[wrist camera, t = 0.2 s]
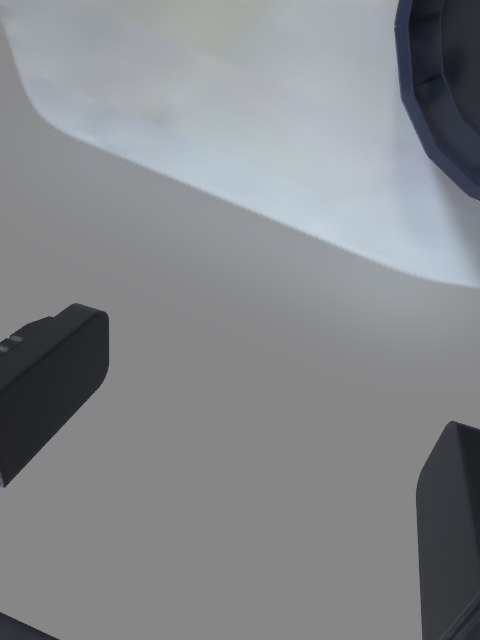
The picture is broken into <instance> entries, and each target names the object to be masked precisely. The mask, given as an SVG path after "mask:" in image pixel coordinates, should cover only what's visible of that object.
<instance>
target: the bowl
mask: <svg viewBox="0 0 480 640" xmlns="http://www.w3.org/2000/svg"><path fill="white" fill-rule="evenodd" d="M394 25H395V27H394V31H395V42H396V52H397V63H398V73H399V84H400V94H401V98H402V102H403V105H404V107H405V109H406V111H407V113H408V116H409V118H410V120H411V122H412V124H413V126H414V129H415V131H416V133H417V135H418V137H419V140H420V142H421V144H422V146H423V148H424V151H425V153H426V154H427V156H428V157H429V158H430V159H431V160H432V161H433V162H434V163H435V164H436V165H437V166H438V167H439V168H440V169H441V170H442V171H443V172H444V173H445V174H446V175H447V176H448V177H449V178H450V179H451V180H452V181H453V182H454V183H455V184H456V185H457V186H458V187H459V188H460V189H461V190H462V191H463V192H464V193H465V194H467V195H468V196H470V197H472V198H474V199H476V200H478V201H480V0H399V2H398V8H397V13H396V18H395V24H394Z"/></svg>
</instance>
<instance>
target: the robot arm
mask: <svg viewBox="0 0 480 640" xmlns="http://www.w3.org/2000/svg"><path fill="white" fill-rule="evenodd" d="M108 367H109V318H108V315H107V313H106V312H104V311H101V310H97V309H94V308H91V307H88V306H84V305H81V304H78V303H75V304H72V305H70V306H69V307H67V308H66V309H65V310H63V311H62V312H60V313H59V314H58V315H56V316H55V317H50V316H49V317H46V318H43V319H40V320H37V321H34V322H32V323H29V324H27V325H25V326H24V327H22V328H21V329H19V330H18V331H16V332H15V333H13V334H12V335H10V338H9V339H7V338H6V339H5V340H3V341H2V342H0V487H3V488H5V487H6V486H7V485H8V484H9V483H10V481H11V480H12V479H13V478H14V477H15V476H16V475H17V474H18V473H19V472H20V471H21V470H22V469H23V468H24V467H25V466H26V464H27V463H28V462H29V461H30V460H31V459H32V458H33V457H34V456H35V455H36V454H37V453H38V452H39V451H40V450H41V449H42V447H43V446H44V445H45V444H46V443H47V442H48V441H49V440H50V439H51V438H52V437H53V436H54V435H55V434H56V433H57V432H58V430H59V429H60V428H61V427H62V426H63V425H64V424H65V423H66V422H67V421H68V420H69V419H70V418H71V417H72V416H73V414H74V413H75V412H76V411H77V410H78V409H79V408H80V407H81V406H82V405H83V404H84V403H85V402H86V401H87V399H89V397H90V396H91V395H92V394H93V393H94V392H95V391H96V390H97V389H98V388H99V387H100V385H101V384H102V382H103V381H104V379H105V376H106V374H107V371H108ZM416 509H417V531H418V552H419V573H420V595H421V617H422V638H423V640H480V429H477V428H474V427H471V426H467V425H464V424H461V423H458V422H454V421H450V422H449V423H448V424H447V425H446V427H445V429H444V430H443V432H442V434H441V436H440V438H439V439H438V441H437V443H436V445H435V447H434V448H433V450H432V452H431V454H430V456H429V457H428V459H427V461H426V463H425V465H424V467H423V468H422V471H421V473H420V476H419V479H418V484H417V490H416ZM0 640H59V639H57V638H55V637H52V636H50V635H48V634H46V633H43V632H41V631H39V630H37V629H35V628H33V627H31V626H29V625H27V624H24V623H22V622H20V621H18V620H16V619H14V618H12V617H9V616H7V615H5V614H3V613H1V612H0Z"/></svg>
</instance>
